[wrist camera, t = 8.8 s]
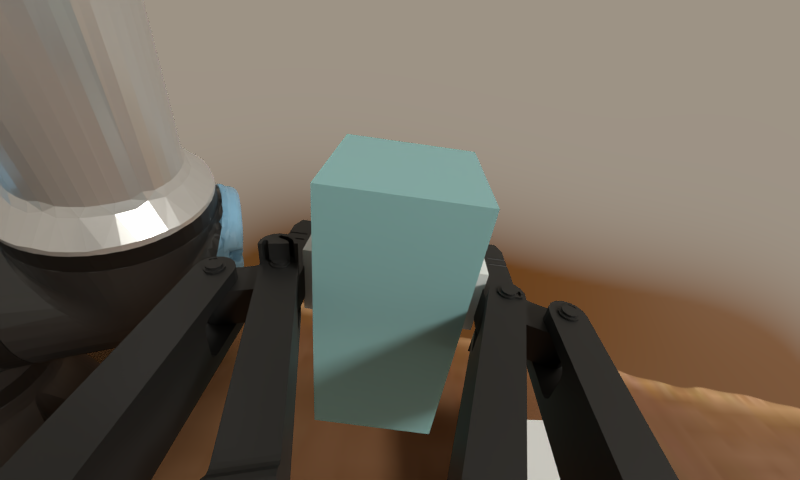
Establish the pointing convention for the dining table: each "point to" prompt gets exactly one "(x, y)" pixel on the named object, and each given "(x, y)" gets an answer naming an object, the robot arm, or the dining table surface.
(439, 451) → the dining table surface
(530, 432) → the tower top
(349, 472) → the dining table surface
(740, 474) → the dining table surface
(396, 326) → the teal post
